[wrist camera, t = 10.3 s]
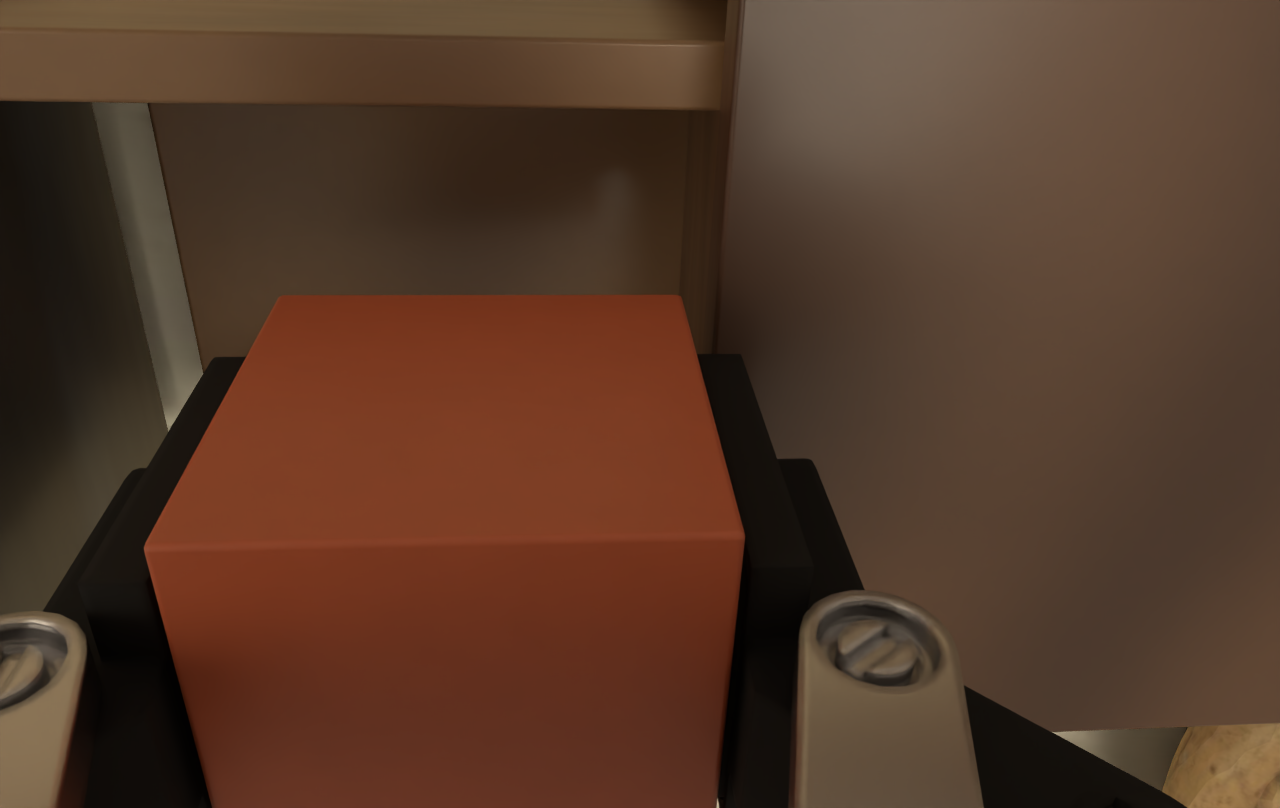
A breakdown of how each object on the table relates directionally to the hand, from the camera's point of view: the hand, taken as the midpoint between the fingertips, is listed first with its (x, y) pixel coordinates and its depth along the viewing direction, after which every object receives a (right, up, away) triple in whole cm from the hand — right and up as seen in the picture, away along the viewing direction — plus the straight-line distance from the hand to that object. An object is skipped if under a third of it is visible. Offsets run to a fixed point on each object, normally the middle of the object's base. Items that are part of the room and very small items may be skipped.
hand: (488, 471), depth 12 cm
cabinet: (+9, +5, +9) cm, 14 cm away
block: (0, 0, 0) cm, 0 cm away
